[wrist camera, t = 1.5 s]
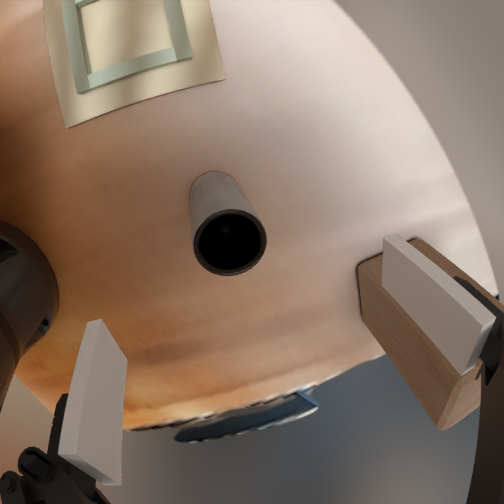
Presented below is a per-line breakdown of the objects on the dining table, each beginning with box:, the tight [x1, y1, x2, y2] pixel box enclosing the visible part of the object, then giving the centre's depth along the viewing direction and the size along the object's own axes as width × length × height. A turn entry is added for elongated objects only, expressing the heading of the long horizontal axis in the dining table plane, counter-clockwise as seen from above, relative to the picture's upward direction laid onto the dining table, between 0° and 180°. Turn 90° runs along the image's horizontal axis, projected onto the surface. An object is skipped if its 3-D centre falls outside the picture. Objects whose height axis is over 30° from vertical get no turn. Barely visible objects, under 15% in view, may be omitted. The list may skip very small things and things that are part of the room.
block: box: [357, 239, 504, 430], centre depth 29 cm, size 10×10×20 cm
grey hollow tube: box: [189, 171, 267, 276], centre depth 23 cm, size 4×4×10 cm
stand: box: [43, 0, 225, 129], centre depth 18 cm, size 14×14×2 cm
